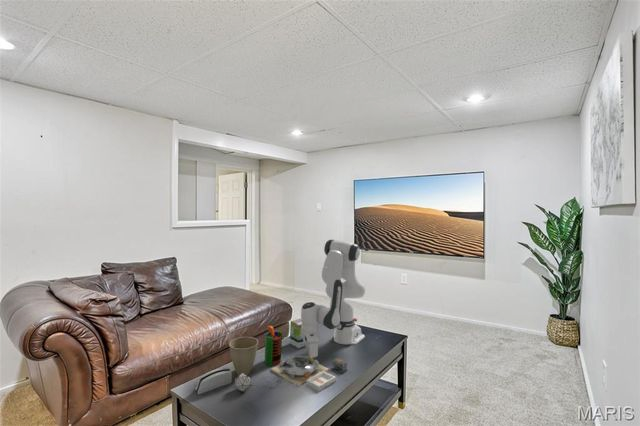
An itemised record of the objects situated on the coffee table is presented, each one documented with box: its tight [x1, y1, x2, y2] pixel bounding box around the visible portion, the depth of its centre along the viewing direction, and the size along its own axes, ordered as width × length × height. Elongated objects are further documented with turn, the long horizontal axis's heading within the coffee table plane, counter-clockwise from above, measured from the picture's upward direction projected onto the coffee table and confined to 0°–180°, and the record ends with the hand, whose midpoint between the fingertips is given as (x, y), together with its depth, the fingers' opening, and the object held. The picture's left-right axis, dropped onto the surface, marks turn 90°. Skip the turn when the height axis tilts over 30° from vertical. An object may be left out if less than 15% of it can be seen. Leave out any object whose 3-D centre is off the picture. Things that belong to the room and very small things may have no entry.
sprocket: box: [280, 354, 320, 378], centre depth 176 cm, size 21×21×7 cm
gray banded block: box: [332, 357, 348, 373], centre depth 179 cm, size 4×7×4 cm, turn 42°
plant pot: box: [228, 336, 259, 376], centre depth 174 cm, size 15×15×16 cm
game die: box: [233, 371, 252, 394], centre depth 157 cm, size 9×8×10 cm
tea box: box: [289, 318, 306, 349], centre depth 212 cm, size 15×10×15 cm, turn 131°
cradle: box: [305, 371, 337, 392], centre depth 164 cm, size 12×8×2 cm
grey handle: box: [194, 367, 233, 395], centre depth 159 cm, size 17×5×10 cm, turn 131°
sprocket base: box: [270, 355, 330, 387], centre depth 176 cm, size 22×22×1 cm
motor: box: [264, 325, 283, 367], centre depth 186 cm, size 10×9×20 cm
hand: (310, 357), depth 181 cm, fingers closed, pressing on sprocket
